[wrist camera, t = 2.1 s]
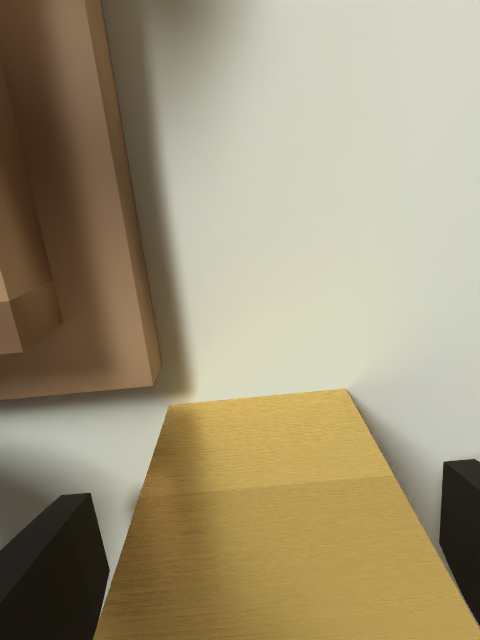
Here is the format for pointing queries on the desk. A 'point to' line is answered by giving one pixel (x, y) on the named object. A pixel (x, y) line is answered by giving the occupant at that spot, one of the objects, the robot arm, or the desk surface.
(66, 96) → the socket
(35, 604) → the robot arm
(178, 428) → the rectangular peg
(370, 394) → the desk surface
